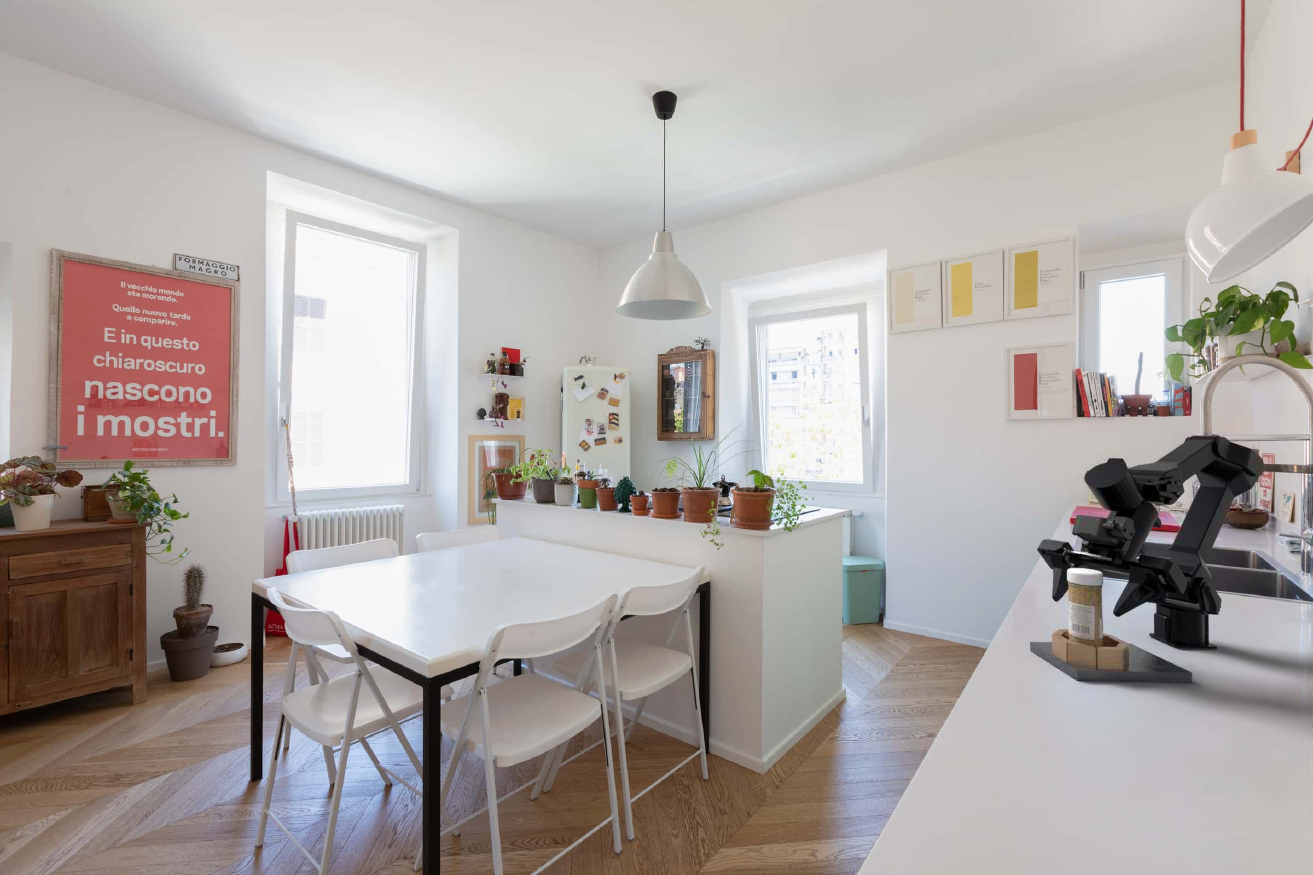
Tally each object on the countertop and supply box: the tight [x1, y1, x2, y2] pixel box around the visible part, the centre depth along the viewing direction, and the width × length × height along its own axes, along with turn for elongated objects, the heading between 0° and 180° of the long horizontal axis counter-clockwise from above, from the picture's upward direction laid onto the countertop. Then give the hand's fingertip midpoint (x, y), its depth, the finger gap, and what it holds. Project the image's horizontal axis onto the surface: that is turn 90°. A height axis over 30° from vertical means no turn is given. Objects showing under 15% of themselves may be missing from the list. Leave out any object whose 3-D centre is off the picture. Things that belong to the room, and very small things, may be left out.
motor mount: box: [1029, 628, 1193, 684], centre depth 91 cm, size 16×12×4 cm
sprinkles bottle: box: [1067, 567, 1104, 647], centre depth 91 cm, size 5×5×14 cm
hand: (1083, 607), depth 90 cm, fingers open, 8 cm apart
